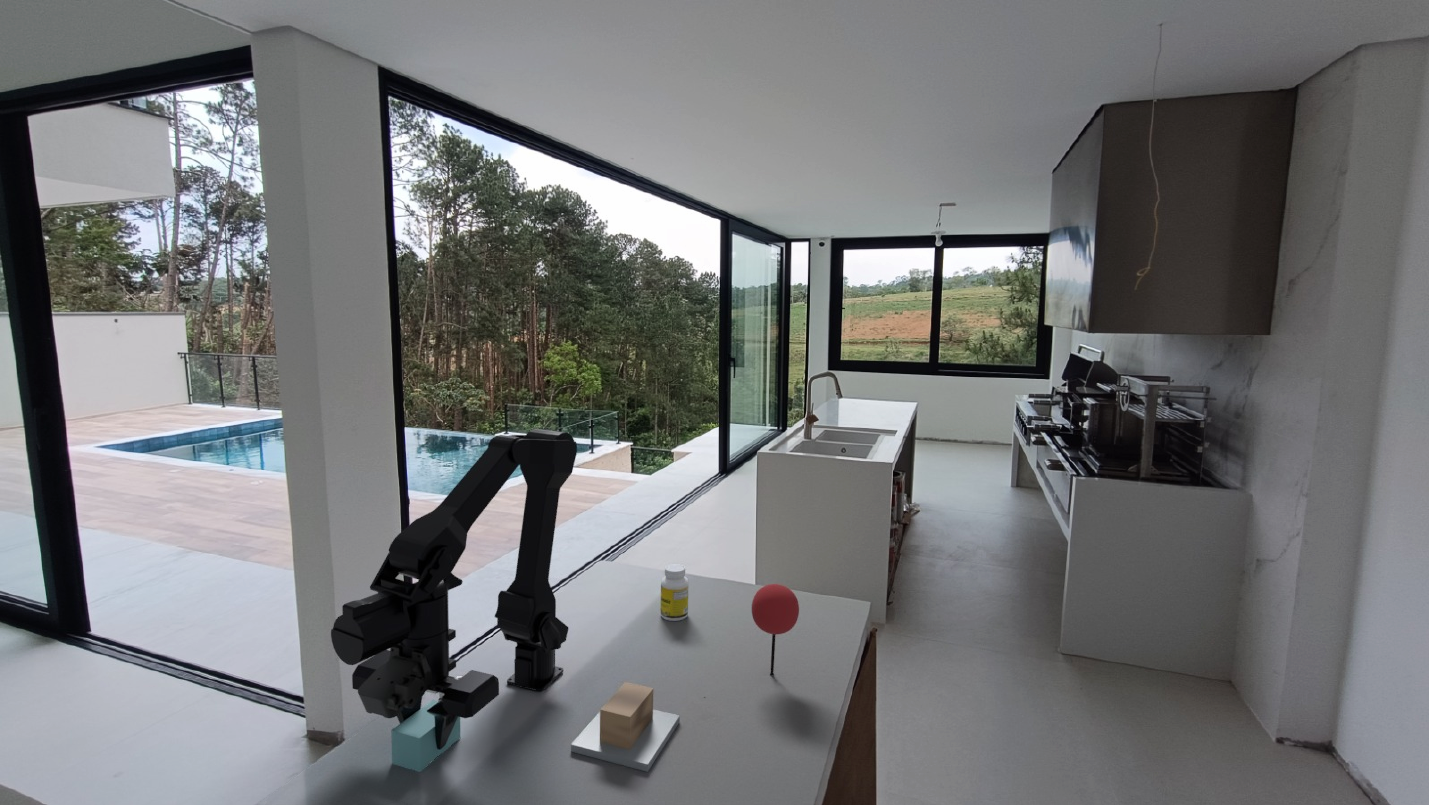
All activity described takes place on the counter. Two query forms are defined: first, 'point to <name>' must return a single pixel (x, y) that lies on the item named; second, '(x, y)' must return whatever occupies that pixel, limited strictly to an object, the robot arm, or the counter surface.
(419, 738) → the teal brick
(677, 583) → the supplement bottle
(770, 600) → the lollipop
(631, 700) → the walnut brick
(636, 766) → the base plate
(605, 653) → the counter surface
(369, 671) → the robot arm
